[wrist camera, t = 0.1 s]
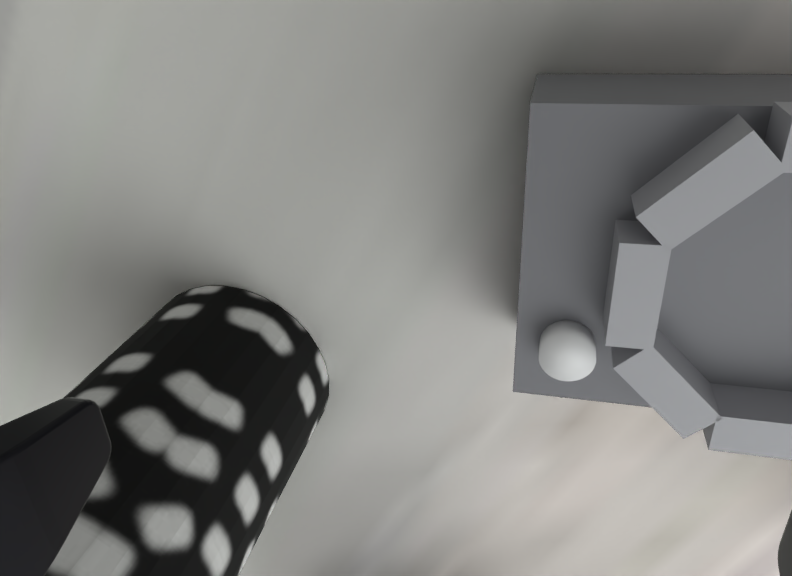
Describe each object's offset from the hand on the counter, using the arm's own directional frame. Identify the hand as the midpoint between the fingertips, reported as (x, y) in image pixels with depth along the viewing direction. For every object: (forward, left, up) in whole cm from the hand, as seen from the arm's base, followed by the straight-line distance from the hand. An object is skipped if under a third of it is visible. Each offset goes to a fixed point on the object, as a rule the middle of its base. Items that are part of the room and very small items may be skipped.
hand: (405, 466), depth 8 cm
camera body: (-2, -8, -15) cm, 17 cm away
